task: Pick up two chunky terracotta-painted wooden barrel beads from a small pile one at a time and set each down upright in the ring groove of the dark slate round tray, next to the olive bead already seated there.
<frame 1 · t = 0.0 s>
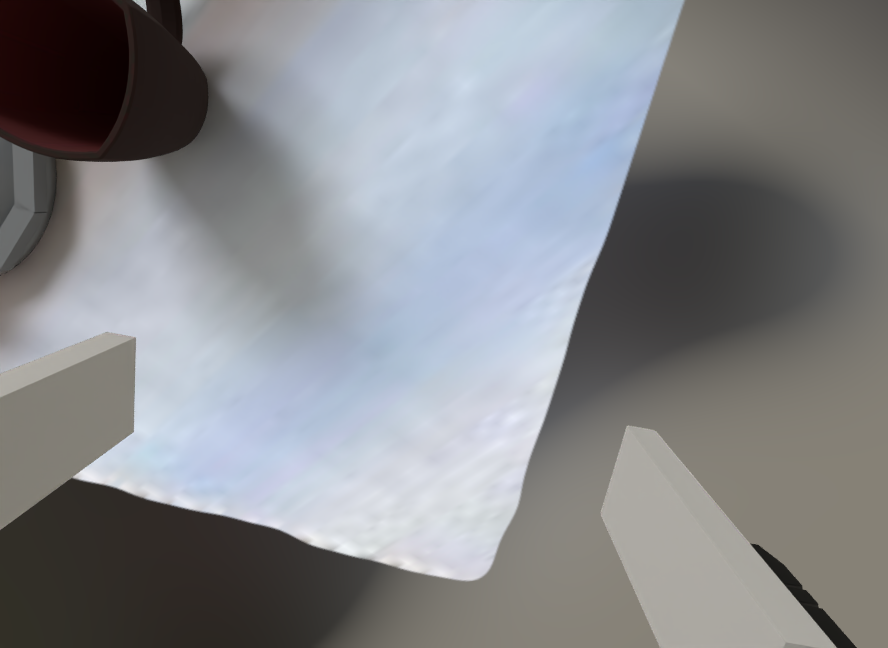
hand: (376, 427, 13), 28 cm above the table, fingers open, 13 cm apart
mug: (176, 72, 37), on the table
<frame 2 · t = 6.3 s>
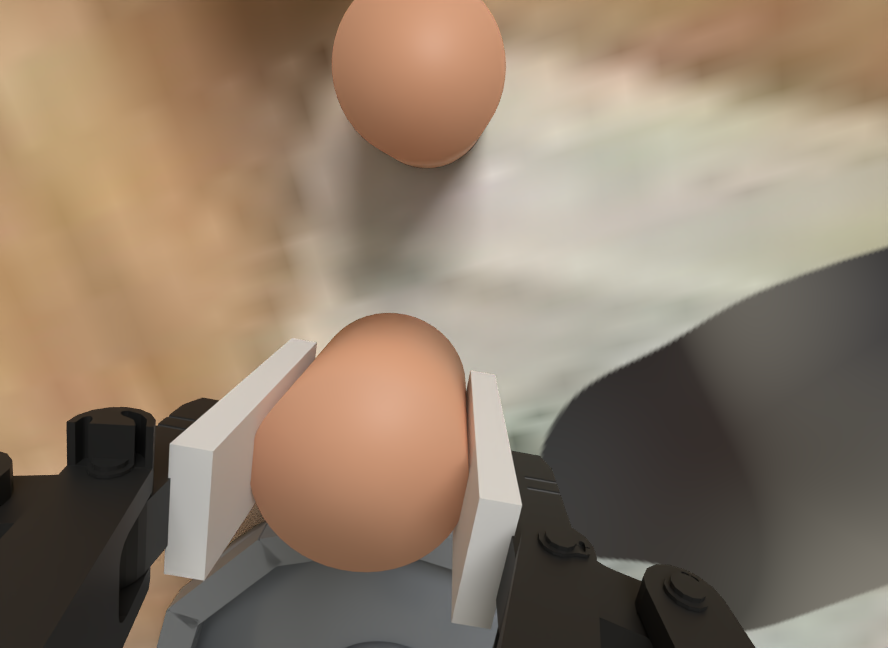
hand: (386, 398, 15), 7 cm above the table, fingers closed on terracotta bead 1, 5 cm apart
terracotta bead 1: (391, 385, 16), point 6 cm above the table, touching gripper
terracotta bead 2: (426, 102, 19), on the table
when the fingers open (2 cm above the table, at t = 10.3 s): terracotta bead 1 stays where it is, resting on groove tray.
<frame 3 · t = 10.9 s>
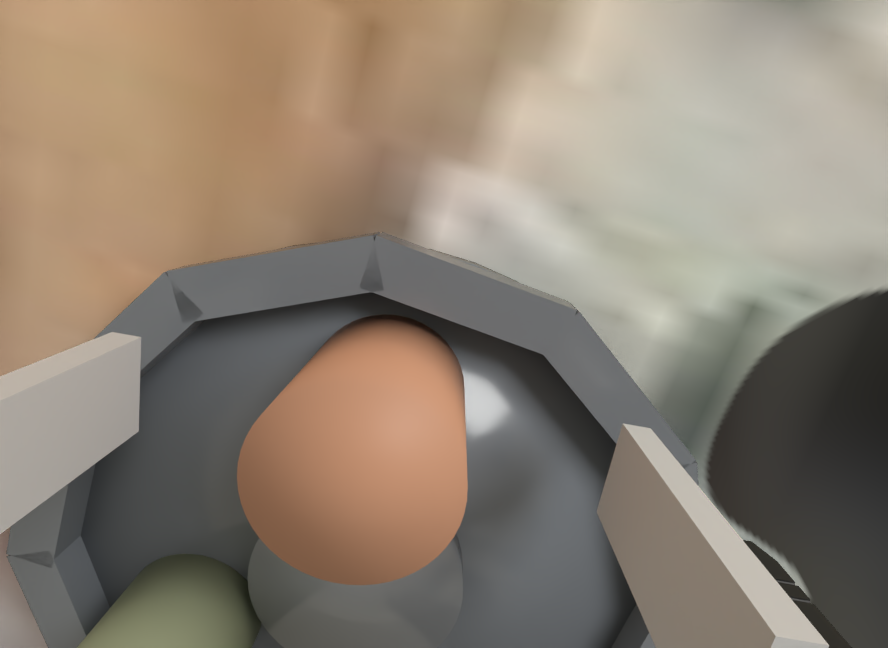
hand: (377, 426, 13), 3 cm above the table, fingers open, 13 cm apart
groove tray: (366, 543, 18), on the table
olive bead: (195, 610, 18), point 1 cm above the table, touching groove tray
terracotta bead 1: (388, 388, 16), point 1 cm above the table, touching groove tray
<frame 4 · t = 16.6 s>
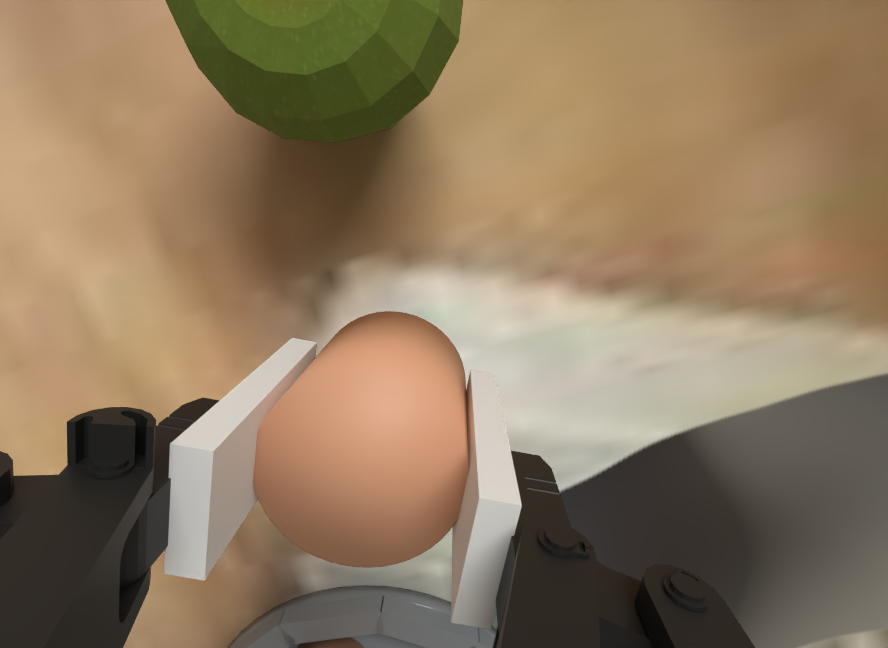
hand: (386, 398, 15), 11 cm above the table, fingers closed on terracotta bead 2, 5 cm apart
terracotta bead 2: (392, 383, 16), point 10 cm above the table, touching gripper
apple: (361, 60, 23), on the table
when the fingers open (1 cm above the table, at t = 21.3 s): terracotta bead 2 stays where it is, resting on groove tray.
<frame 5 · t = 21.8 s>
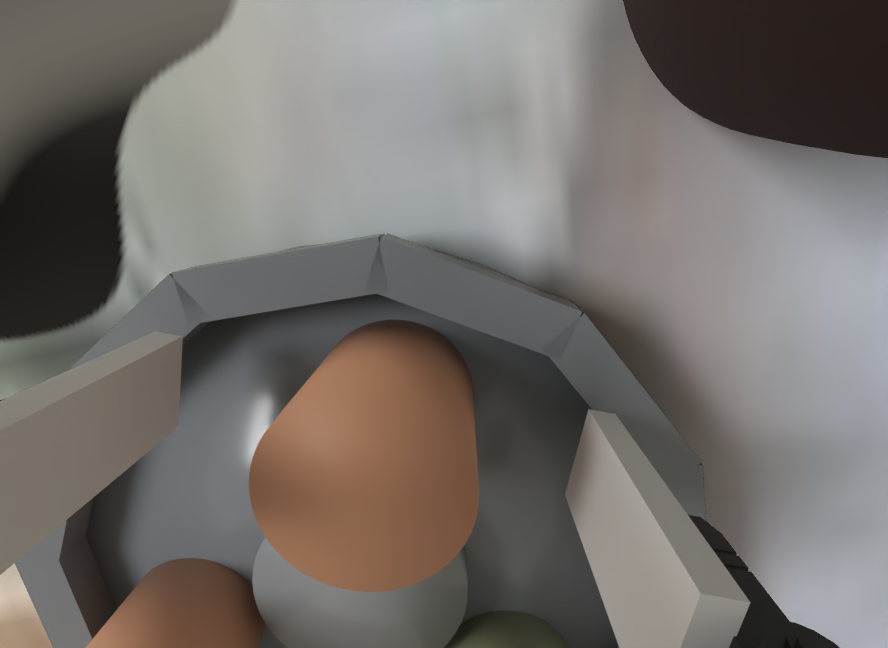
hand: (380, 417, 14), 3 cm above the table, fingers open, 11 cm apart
groove tray: (371, 544, 18), on the table
terracotta bead 1: (199, 614, 18), point 1 cm above the table, touching groove tray
terracotta bead 2: (396, 393, 16), point 1 cm above the table, touching groove tray
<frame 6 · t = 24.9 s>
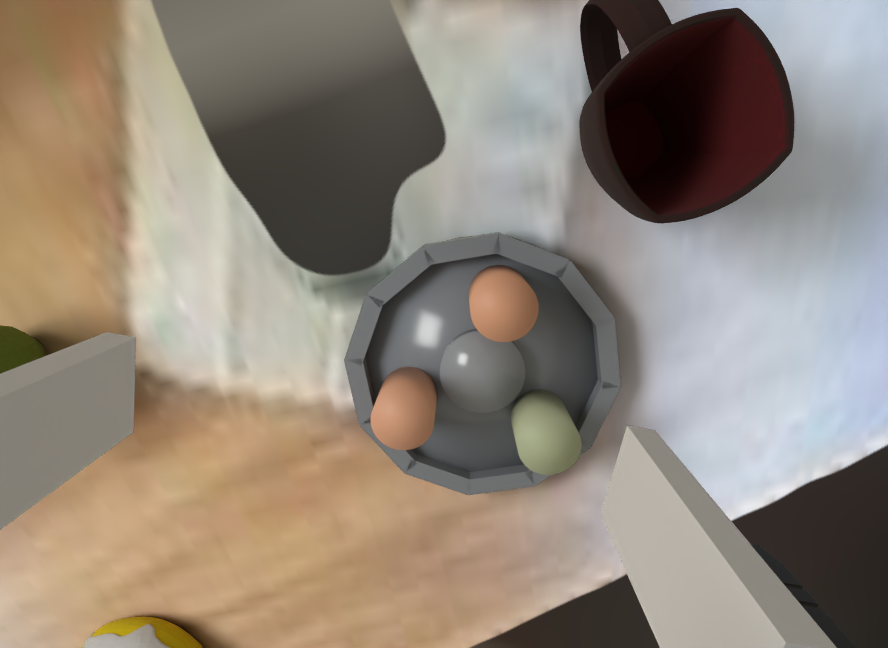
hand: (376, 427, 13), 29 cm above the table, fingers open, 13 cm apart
groove tray: (481, 364, 43), on the table
olive bead: (538, 415, 43), point 1 cm above the table, touching groove tray
mug: (612, 119, 38), on the table
terracotta bead 1: (409, 393, 43), point 1 cm above the table, touching groove tray
terracotta bead 2: (498, 294, 40), point 1 cm above the table, touching groove tray
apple: (30, 351, 44), on the table
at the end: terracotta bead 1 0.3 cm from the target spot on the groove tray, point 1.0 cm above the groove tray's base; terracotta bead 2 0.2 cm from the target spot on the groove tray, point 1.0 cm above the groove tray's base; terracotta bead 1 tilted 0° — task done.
